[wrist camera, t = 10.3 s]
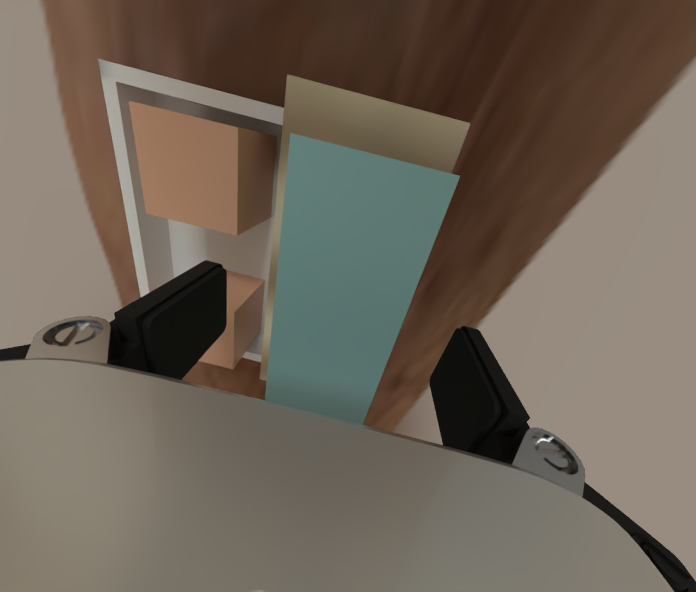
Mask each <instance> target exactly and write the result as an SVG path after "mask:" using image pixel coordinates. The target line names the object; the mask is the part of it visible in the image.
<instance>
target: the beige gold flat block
mask: <svg viewBox="0 0 696 592" xmlns="http://www.w3.org/2000/svg"><path fill="white" fill-rule="evenodd" d="M470 124H471V123H468V122H464V121H460V120H457V119H453V118H449V117H445V116H442V115H438V114H434V113H430V112H427V111H423V110H419V109H415V108H412V107H408V106H404V105H400V104H397V103H393V102H389V101H385V100H382V99H378V98H374V97H370V96H367V95H363V94H359V93H355V92H352V91H348V90H344V89H340V88H337V87H333V86H329V85H325V84H322V83H318V82H314V81H310V80H306V79H303V78H299V77H295V76H291V75H288V74H287V82H286V93H285V104H284V115H283V126H282V137H281V148H280V159H279V170H278V182H277V193H276V204H275V215H274V226H273V237H272V248H271V259H270V270H269V281H268V292H267V303H266V314H265V325H264V336H263V347H262V358H261V369H260V380H264V381H266V380H267V370H268V360H269V349H270V339H271V329H272V318H273V308H274V298H275V287H276V277H277V267H278V256H279V246H280V236H281V225H282V215H283V205H284V194H285V184H286V174H287V164H288V153H289V143H290V133H293V134H297V135H301V136H305V137H309V138H313V139H317V140H321V141H324V142H328V143H332V144H336V145H340V146H344V147H348V148H352V149H356V150H360V151H364V152H368V153H372V154H376V155H380V156H384V157H388V158H391V159H395V160H399V161H403V162H407V163H411V164H415V165H419V166H423V167H427V168H431V169H435V170H439V171H443V172H447V173H451V174H452V171H453V168H454V166H455V163H456V161H457V158H458V155H459V153H460V150H461V148H462V145H463V142H464V140H465V137H466V135H467V132H468V129H469V127H470Z"/></svg>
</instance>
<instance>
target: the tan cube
mask: <svg viewBox="0 0 696 592" xmlns="http://www.w3.org/2000/svg"><path fill="white" fill-rule="evenodd" d="M129 107H130V113H131V120H132V126H133V133H134V139H135V145H136V152H137V158H138V165H139V171H140V178H141V184H142V190H143V197H144V203H145V210H146V214H150V215H154V216H158V217H162V218H166V219H170V220H174V221H179V222H183V223H187V224H191V225H195V226H199V227H203V228H207V229H211V230H215V231H219V232H224V233H228V234H232V235H236V236H238V235H239V234H241V233H243V232H245V231H247V230H249V229H251V228H252V227H254V226H256V225H258V224H260V223H262V222H263V221H265V220H267V219H269V218H271V212H272V198H273V184H274V170H275V156H276V142H277V136H274V135H270V134H266V133H262V132H258V131H254V130H250V129H246V128H242V127H238V126H234V125H230V124H226V123H222V122H218V121H214V120H210V119H206V118H201V117H197V116H193V115H189V114H184V113H180V112H176V111H171V110H167V109H163V108H158V107H154V106H150V105H145V104H141V103H136V102H132V101H129Z"/></svg>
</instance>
